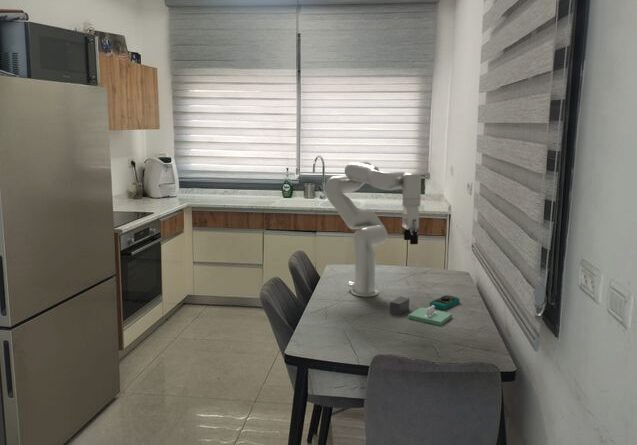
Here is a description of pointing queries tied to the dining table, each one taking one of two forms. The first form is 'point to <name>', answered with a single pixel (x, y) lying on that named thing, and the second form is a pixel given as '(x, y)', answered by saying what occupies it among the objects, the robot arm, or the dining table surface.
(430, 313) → the board
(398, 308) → the block
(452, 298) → the digital multimeter
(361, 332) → the dining table surface
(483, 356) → the dining table surface
